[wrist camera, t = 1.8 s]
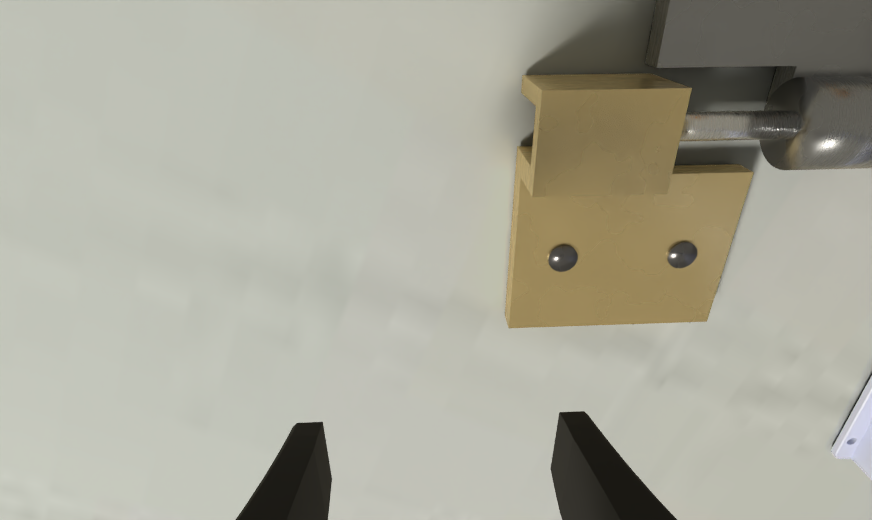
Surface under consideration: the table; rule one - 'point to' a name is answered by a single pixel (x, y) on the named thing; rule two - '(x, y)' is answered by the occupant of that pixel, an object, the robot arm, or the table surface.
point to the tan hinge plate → (615, 207)
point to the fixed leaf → (780, 74)
